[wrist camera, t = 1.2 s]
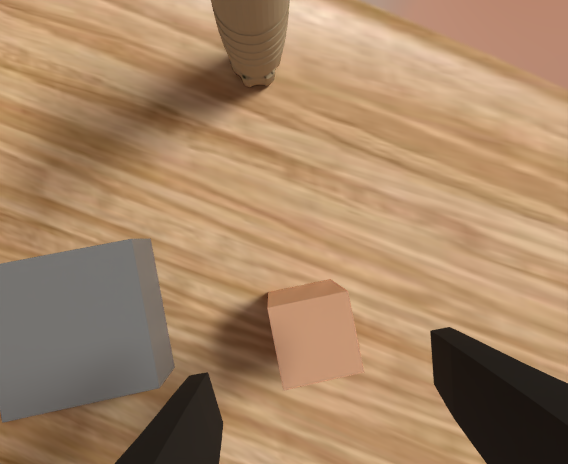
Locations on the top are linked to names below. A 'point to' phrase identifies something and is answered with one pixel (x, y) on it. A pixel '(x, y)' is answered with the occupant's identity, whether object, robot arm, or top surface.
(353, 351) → the terracotta block
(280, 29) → the handle
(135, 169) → the top surface
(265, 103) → the top surface
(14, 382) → the plate
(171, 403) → the robot arm
